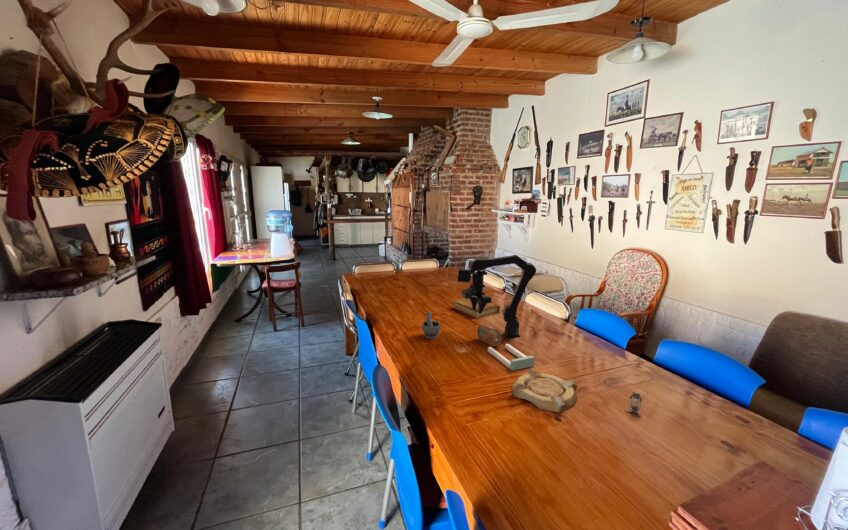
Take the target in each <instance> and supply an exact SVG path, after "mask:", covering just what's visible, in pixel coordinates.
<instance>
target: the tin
mask: <svg viewBox="0 0 848 530" xmlns="http://www.w3.org/2000/svg"><path fill="white" fill-rule="evenodd" d="M477 335H478V338H479V340H480V342H483V343H485V344H487V345H489V346H490V347H492V348H493V347H497V346H499V345H501V343H502V333H501V332H500V330H499V329H497V328H494V327H493V326H490V325H488V324H480V325H479V326H478V327H477Z"/></svg>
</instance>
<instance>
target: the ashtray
mask: <svg viewBox="0 0 848 530" xmlns="http://www.w3.org/2000/svg"><path fill="white" fill-rule="evenodd" d="M578 387H579V386H578V384H577V383H576V381H574V380H573V379H570V380H567V381H566V380H564V379H562V378H560V377H558V376H555V375H552V374H549V373H548V374H547V373H541V372H539V371H538V370H536V369H532V368H529V369H528V373H525V374H522V375H521V376H519V377H518V378H516V380H515V382H514V383H513V384H512V387H511V390H512V391H511V392H512V395H513V396H514V397H516V398H517V399H523V400H527V401H529V402H531V403H532V404H533V405H535V406H536V408H539V409H541V410H546V411H551V412H557V413H562V412H565V411H566V410H567V409H570V408H572V407H574V406H575V405H576V403H577V402H578V395H577V393H576V391H577V388H578Z"/></svg>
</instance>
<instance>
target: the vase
mask: <svg viewBox="0 0 848 530" xmlns="http://www.w3.org/2000/svg"><path fill="white" fill-rule="evenodd" d="M642 401H643V399H642V397H641V394H640V393H636V392H634V391H633V392H632V393H631V395H630V397H629V407H630V408H631V410H629V409H627V408H625V409H624V410H623V412H628V413H629V414H630V413H632V412H633V413H636V414H637V416H638V417H642V416H643V414H642V413H640V412H639V410H640V409H641V408H642Z"/></svg>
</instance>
